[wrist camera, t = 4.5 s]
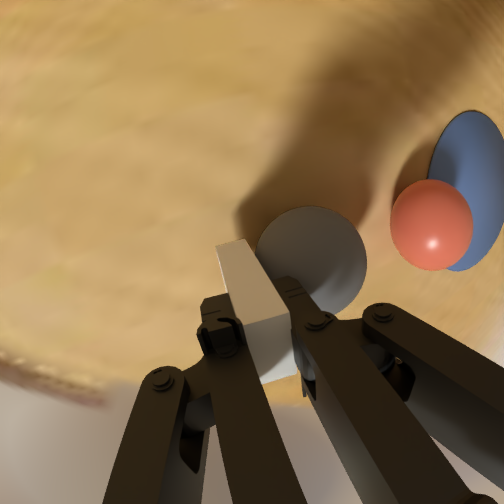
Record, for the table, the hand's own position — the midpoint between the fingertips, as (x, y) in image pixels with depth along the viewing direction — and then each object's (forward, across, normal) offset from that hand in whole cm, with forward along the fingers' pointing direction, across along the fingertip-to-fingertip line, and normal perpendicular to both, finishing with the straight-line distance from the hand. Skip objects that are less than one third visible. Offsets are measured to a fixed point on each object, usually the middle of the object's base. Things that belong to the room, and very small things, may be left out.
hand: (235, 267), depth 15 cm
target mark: (+2, +21, 0) cm, 21 cm away
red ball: (-1, +12, 0) cm, 12 cm away
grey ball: (-1, +4, 0) cm, 4 cm away
